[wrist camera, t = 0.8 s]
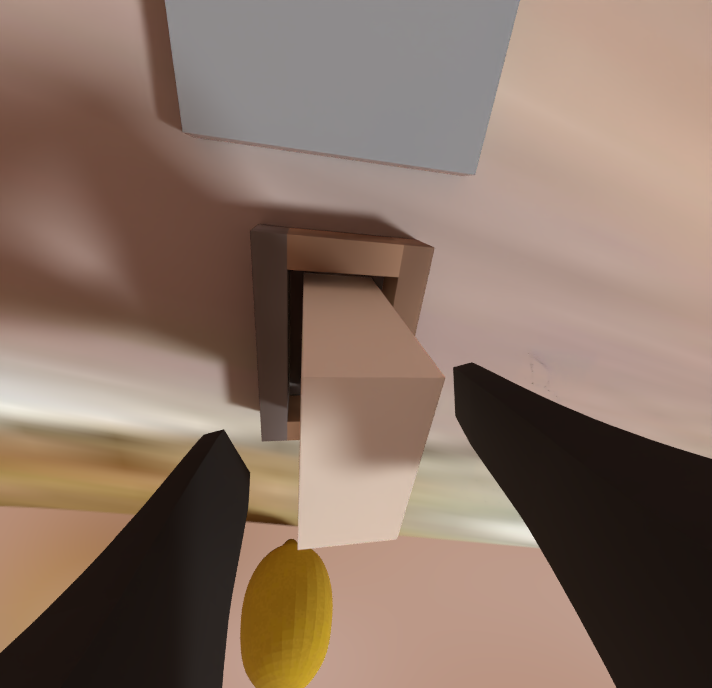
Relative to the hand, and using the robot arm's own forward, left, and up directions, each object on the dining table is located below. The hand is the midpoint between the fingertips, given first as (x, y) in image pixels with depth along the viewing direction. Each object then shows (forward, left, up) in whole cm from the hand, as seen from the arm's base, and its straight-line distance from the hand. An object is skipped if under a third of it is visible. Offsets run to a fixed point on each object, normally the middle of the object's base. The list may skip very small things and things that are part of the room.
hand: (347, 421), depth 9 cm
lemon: (+14, +10, -6) cm, 18 cm away
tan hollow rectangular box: (0, 0, -6) cm, 6 cm away
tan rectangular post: (0, 0, -6) cm, 6 cm away
